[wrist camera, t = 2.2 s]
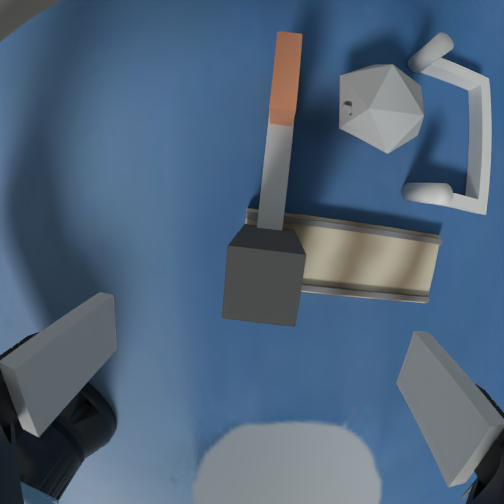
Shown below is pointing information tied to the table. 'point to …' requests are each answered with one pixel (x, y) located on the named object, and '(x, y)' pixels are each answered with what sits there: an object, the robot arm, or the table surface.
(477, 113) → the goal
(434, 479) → the table surface
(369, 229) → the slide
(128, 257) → the table surface
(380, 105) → the die
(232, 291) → the rod
